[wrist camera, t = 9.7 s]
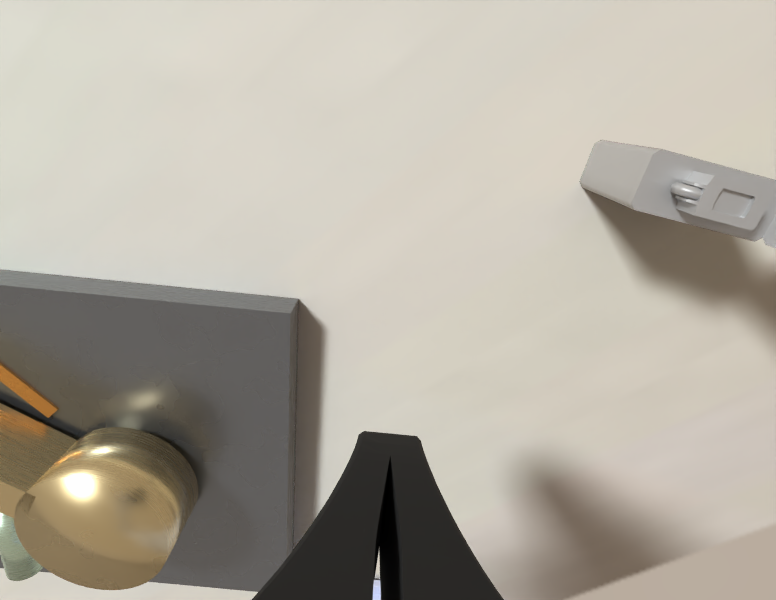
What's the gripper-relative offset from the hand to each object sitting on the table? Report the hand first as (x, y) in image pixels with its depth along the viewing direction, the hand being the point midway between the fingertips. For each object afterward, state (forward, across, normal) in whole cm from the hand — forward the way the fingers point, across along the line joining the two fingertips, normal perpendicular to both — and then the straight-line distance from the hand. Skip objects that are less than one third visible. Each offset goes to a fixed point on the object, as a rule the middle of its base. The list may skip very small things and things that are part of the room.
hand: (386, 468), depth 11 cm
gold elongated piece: (+8, +14, +7) cm, 18 cm away
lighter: (+10, -10, -6) cm, 15 cm away
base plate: (+9, +12, +8) cm, 17 cm away
